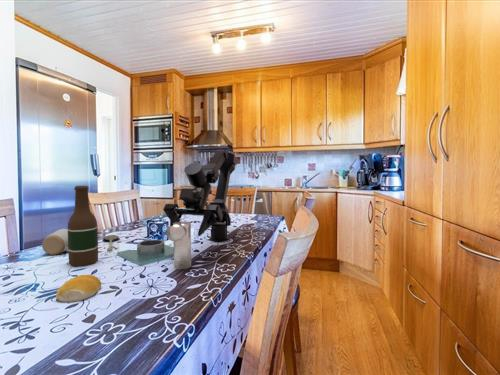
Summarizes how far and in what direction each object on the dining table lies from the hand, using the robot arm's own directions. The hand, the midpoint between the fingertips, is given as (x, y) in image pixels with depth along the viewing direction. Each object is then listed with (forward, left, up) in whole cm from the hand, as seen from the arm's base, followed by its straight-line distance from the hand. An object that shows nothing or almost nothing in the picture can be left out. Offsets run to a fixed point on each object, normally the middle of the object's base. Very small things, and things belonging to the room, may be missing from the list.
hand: (184, 234), depth 80 cm
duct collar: (+1, -17, -9) cm, 20 cm away
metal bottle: (+3, +1, -9) cm, 10 cm away
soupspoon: (+5, -42, -10) cm, 43 cm away
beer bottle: (+19, -25, -9) cm, 33 cm away
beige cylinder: (+20, -44, -9) cm, 49 cm away
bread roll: (+28, -2, -10) cm, 29 cm away
